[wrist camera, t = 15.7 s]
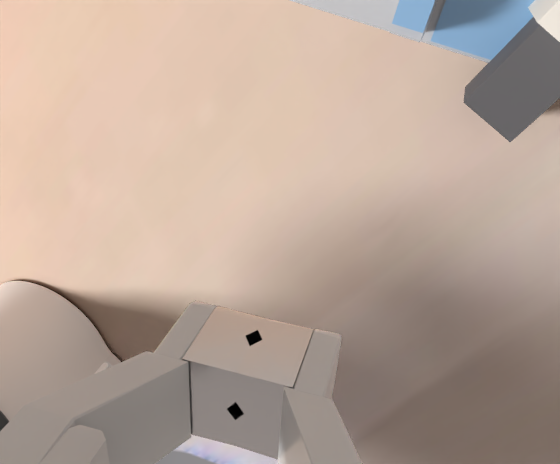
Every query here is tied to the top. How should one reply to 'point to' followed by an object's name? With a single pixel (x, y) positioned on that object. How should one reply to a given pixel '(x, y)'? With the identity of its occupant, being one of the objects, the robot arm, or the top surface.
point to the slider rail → (440, 21)
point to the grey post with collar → (521, 75)
